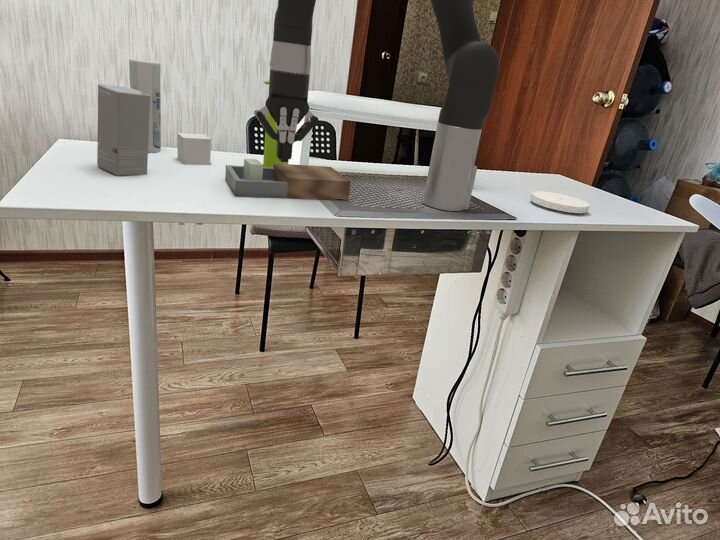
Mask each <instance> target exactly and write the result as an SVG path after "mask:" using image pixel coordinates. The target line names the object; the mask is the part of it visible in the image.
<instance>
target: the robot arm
mask: <svg viewBox="0 0 720 540" xmlns="http://www.w3.org/2000/svg"><path fill="white" fill-rule="evenodd" d="M429 1H430V4H431V7H432V11H433V14H434V16H435V20H436V22H437V26H438V30H439V37H440V41H441V42H440V43H441V46H442V47H441V49H442V54H443V61H444V68H445V74H446V77H447V79H448V81H449V82H448V87H447V93H446V95H445V101H444V103H443V105H442V107H441V108H440V111H439V114H438V119H437V126H436V129H435V136H434V140H433V141H434V142H433V146H432V152H431V157H430V161H429V167H428V171H427V178H426V181H425V182H426V183H425V186H424V187H425V188H424V192H423V198H422V203H423V204H425V205H426V206H429V207H430V208H435V209H436V210H437V209H438V210H442V211H448V212H461V211H464V210H468V209H469V207H470V203H471V202H470V201H471V197H472V195H473V194H472V193H473V189H474V184H475V181H476V175H477V172H478V166H477V165H475V161H476V158H477V154H478V153H477V152H478V149H479V144H480V140H481V139H480V138H481V136H482V135H481V134H482V131H483V127H484V123H485V120H486V119H487V117H488V114H489V112H490V109H491V105H492V102H493V98H494V95H495V94H494V93H495V90H496V86H497V82H498V78H499V73H500V58H499V54H498V53H497V51H496V49H495V48H494V47H493V46H492V45H491V44H489V43H488V42H485V41H482V38H481V35H480V32H479V29H478V25H477V21H476V17H475V12H474V3H473V1H474V0H429ZM316 2H317V0H278V1H277V8H276V10H275V14H274V19H273V20H274V21H273V37H272V46H271V50H270V51H271V53H270V60H269V80H268V81H269V84H268V97H267V99H266V100H265V103H264V104H265V105H264V106H263V107H261V108H260V109H256V110H254V113H253V114H254V116H255V117H256V120H257V121H258V122H259V123H260V125H261V126H262V128H263V130H264V132H265V131H266V132H267V134H268V135H269V137H271V138H272V139H274V140H276V141H277V151H276V155H277V158H278V159H279V161H281V162H288V163H289V160H292V156H293V145H294V143H296V142H302V141H303V139H304V138H305V137H306V136H307V135H308V134H309V133H310V132H311V131H312V129H313V128H314V127H315V126H316V125H317V123H319V121H320V120H319V118H318V116H315V114H313V113H312V112H311V111H310V105H309V103H308V102H309V101H308V99H309V89H310V88H309V87H310V74H311V66H312V65H311V64H312V53H311V52H312V51H311V50H312V48H311V46H312V39H313V35H312V34H313V19H314V17H313V16H314V11H315V6H316ZM268 111H269V113H270V115H271V116H272V118H273V120H274V121H275V122H276V129H277V133H275V131H274V130H273V128H272V127H271V125H270V124H269V122H268V121H267V119H268V117H269V116H268ZM303 119H304V123H303V124H302V125H301V126H300V127H299V128H298V129H297V127H298V125H299V124H300V123H301V121H303Z"/></svg>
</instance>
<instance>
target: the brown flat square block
mask: <svg viewBox="0 0 720 540" xmlns="http://www.w3.org/2000/svg"><path fill="white" fill-rule="evenodd" d="M273 168H274V181H278V182H287V183H288V190H287V198H286V199H297V200H298V199H299V200H300V199H301V200H322V201H323V200H325V201H326V199H344V200H343V201H349V200H350V199H349V198H350V193H351V192H350V191H351V185H352V184H351V180H349V179H348V178H347V177H345V176H344V175H342V174H341V173H340V172H339V171H338V170H336V169H335V168H333V167H332V166H323V165H321V166H320V165H310V164H309V165H307V164H291V163H288V164H277V163H274V165H273Z"/></svg>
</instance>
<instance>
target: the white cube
mask: <svg viewBox="0 0 720 540" xmlns="http://www.w3.org/2000/svg"><path fill="white" fill-rule="evenodd" d="M211 148H212V139H211V138H210V137H208V136H207V135H206V134H204V133H183V132H177V160H178V161H179V162H180V163H181V164H182V165H185V166H186V165H189V166H191V165H192V166H193V165H195V166H197V165H198V166H211V154H212V153H211V152H212V151H211V150H212V149H211Z"/></svg>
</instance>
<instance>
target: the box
mask: <svg viewBox="0 0 720 540" xmlns="http://www.w3.org/2000/svg"><path fill="white" fill-rule="evenodd" d="M243 174H244V165H232V164H231V165H230V164H229V165H228V164H225V176H224V177H225V181H226V183H227V185H228V187H229V189H230V190H231V192H232V193H233V196H234V197H240V198H241V197H244V198H246V197H247V198H269V199H270V198H272V199H273V198H275V199H288V198H287V190H288V183H287V182H278V181H274V168H267V167H263V176H262V181H257V180H243Z"/></svg>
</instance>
